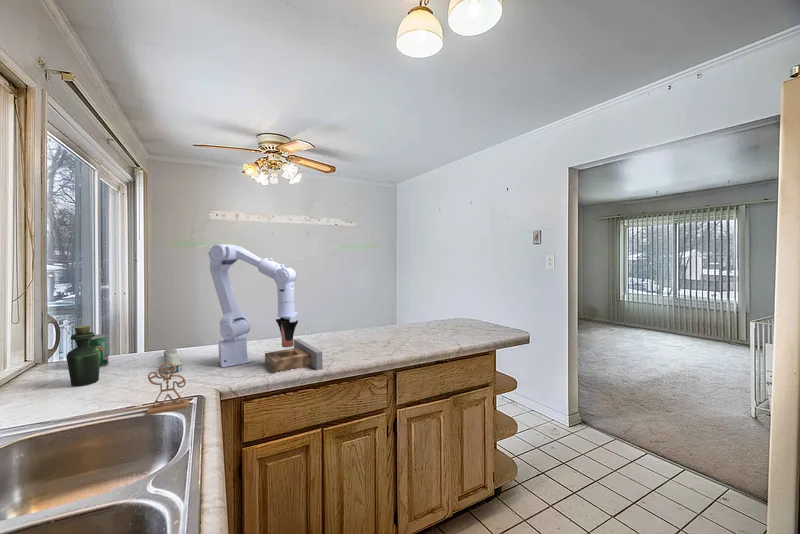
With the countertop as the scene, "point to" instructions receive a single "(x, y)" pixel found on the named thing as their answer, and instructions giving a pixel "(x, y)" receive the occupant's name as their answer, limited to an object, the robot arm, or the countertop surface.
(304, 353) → the block
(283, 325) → the robot arm
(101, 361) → the canned tomato
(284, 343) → the dowel
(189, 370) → the countertop surface
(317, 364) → the wall
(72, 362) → the potion bottle
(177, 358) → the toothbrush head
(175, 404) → the gingerbread man figurine
